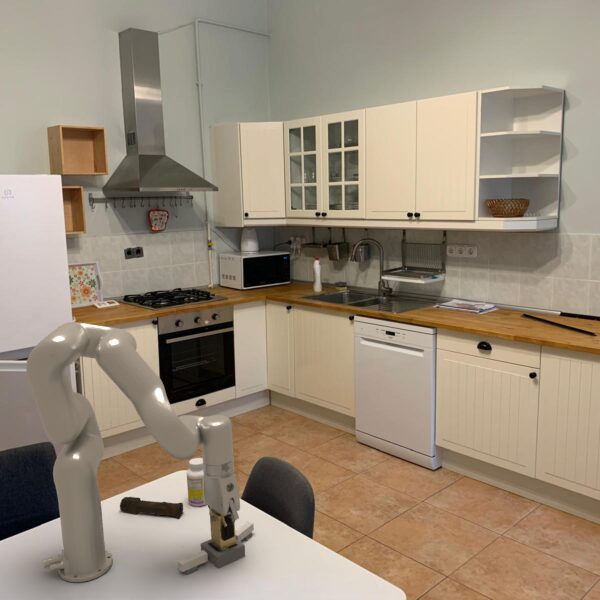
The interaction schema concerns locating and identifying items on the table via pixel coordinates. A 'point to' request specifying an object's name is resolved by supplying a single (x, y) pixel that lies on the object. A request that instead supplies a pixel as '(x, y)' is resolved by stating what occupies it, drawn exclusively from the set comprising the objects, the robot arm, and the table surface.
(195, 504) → the supplement bottle
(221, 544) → the tan wooden block
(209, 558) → the socket
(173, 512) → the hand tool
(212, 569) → the table surface
